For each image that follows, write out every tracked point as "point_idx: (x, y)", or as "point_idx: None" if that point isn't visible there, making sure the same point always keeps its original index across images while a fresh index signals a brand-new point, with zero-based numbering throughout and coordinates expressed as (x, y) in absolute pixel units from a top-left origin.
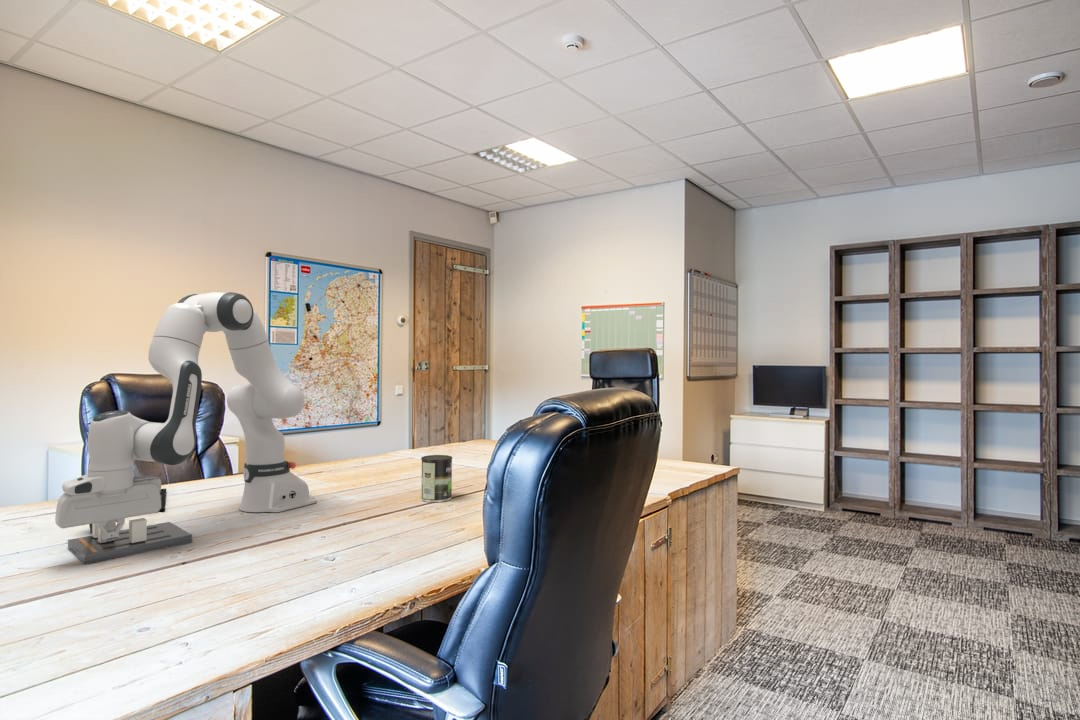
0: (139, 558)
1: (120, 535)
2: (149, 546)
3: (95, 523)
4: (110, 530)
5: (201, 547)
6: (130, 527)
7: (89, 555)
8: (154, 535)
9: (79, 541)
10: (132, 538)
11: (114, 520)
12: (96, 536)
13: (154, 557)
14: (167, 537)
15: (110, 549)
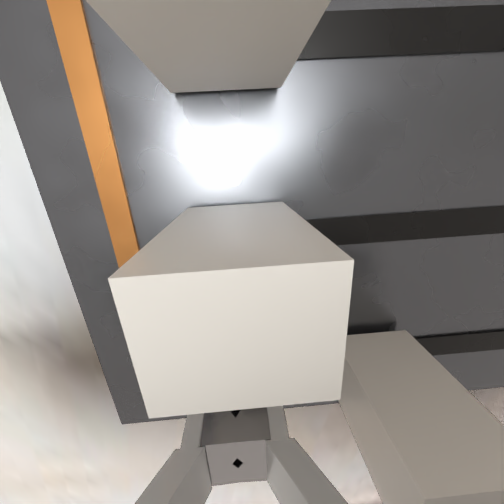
0: (311, 420)
1: (348, 120)
2: None
3: (109, 15)
4: (239, 445)
5: (500, 420)
6: (377, 450)
7: (142, 417)
8: (477, 284)
9: (61, 72)
10: (342, 404)
11: (320, 395)
12: (181, 87)
13: (349, 435)
14: (487, 362)
15: None
